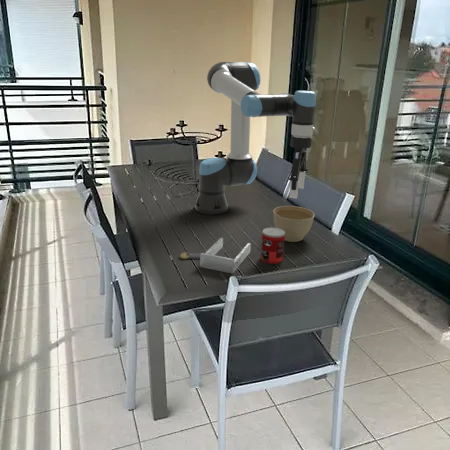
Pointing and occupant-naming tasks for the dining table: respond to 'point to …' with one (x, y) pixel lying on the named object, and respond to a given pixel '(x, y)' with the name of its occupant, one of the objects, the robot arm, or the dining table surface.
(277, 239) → the canned food
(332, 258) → the dining table surface
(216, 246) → the channel
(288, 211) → the planter bowl
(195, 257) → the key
